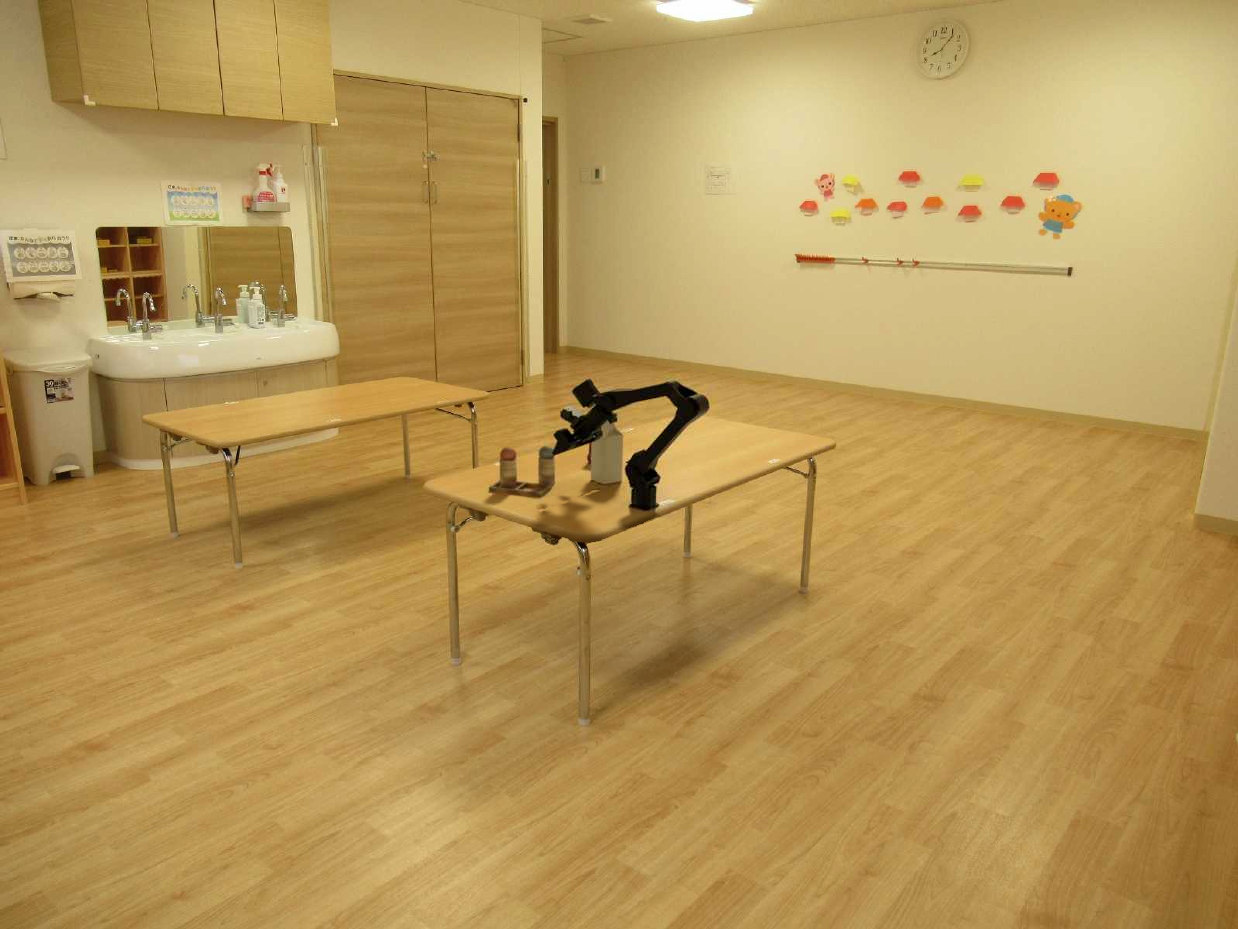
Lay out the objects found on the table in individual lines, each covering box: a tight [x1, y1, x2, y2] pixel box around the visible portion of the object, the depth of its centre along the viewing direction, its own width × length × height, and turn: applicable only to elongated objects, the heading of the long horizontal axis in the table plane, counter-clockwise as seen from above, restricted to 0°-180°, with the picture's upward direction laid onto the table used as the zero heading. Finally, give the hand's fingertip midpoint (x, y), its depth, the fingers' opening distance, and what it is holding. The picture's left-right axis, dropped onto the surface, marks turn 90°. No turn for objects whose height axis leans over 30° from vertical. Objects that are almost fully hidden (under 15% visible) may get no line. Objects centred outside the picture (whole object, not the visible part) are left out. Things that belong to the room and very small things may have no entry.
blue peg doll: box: [537, 445, 556, 486], centre depth 273 cm, size 5×5×13 cm
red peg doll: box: [499, 446, 518, 489], centre depth 267 cm, size 5×5×13 cm
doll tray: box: [488, 479, 552, 498], centre depth 267 cm, size 16×9×2 cm, turn 74°
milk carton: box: [590, 421, 624, 485], centre depth 279 cm, size 7×7×19 cm
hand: (562, 451), depth 268 cm, fingers open, 9 cm apart
